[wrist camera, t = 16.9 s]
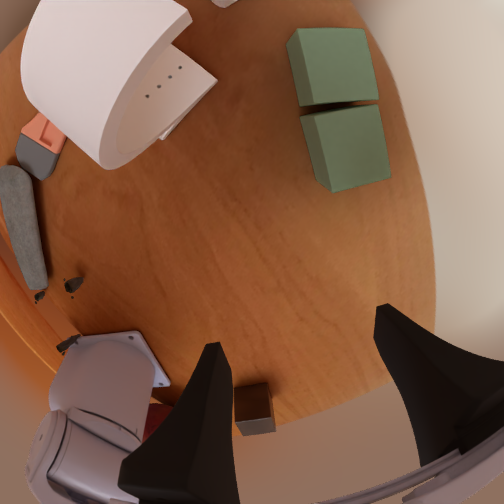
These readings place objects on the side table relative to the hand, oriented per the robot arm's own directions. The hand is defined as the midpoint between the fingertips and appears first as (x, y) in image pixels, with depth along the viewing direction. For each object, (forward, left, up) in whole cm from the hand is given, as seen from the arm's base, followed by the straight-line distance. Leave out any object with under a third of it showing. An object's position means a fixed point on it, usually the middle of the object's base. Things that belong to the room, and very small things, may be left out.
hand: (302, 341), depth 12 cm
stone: (-18, +6, -8) cm, 20 cm away
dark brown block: (-5, -17, -9) cm, 20 cm away
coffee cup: (-5, +12, -9) cm, 16 cm away
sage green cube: (+5, +7, -9) cm, 13 cm away
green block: (+5, +12, -9) cm, 16 cm away
